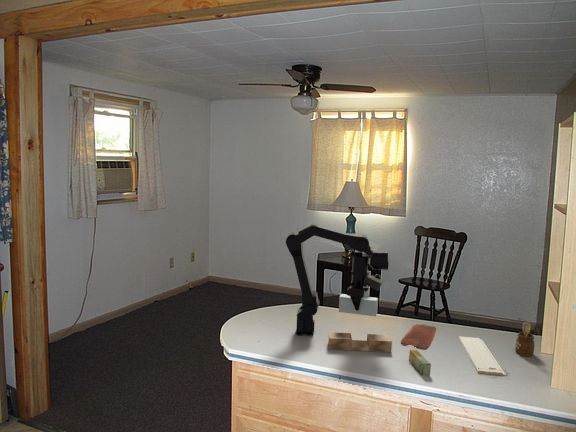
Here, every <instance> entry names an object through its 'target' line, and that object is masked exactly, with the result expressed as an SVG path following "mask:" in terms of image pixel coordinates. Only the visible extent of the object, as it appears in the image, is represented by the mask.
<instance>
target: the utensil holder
mask: <svg viewBox="0 0 576 432" xmlns="http://www.w3.org/2000/svg"><path fill="white" fill-rule="evenodd" d="M531 326H532V324H530V323H529V322H528V321H525V322H523V323H522V331H519V332H518V333H517V338H516V341H515V347H514V348H515V349H514V350H515V353H516V354H517V355H519V356H523V357H533V355H534V352H535V340H534V339H535V336H534V334H532V333H531V328H532V327H531Z"/></svg>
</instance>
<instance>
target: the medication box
mask: <svg viewBox="0 0 576 432" xmlns="http://www.w3.org/2000/svg"><path fill="white" fill-rule="evenodd" d="M408 361H409V362H410V364H411V365H412V366H413V367H414V368H415V369H416V370H417V372H418V373H420V375H421V376H422V377H428V376H430V375H431V369H432V363H430V362H429V361H428V360H427V358H425V357H424V355H422V354H421V353H420V352H419V351H418V349H409V356H408Z"/></svg>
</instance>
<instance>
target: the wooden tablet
mask: <svg viewBox="0 0 576 432" xmlns="http://www.w3.org/2000/svg"><path fill="white" fill-rule="evenodd" d="M436 332H437V327H436V326H433V325H425V324H424V325H423V324H415V325H412V327H411V328H410V329H409V331H408V332H407V333H406V334H405V335H404V336H403V338H401V341H400V345H401V344H403V345H402V346H405V345H412V346H414V347H413V348H415V347H416V348H415V349H418V348H420V349H419V350H427V349H428V348H429V347H430V345H431V344H432V342H433V339H434V338H435V334H436ZM412 346H411V347H412Z"/></svg>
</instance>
